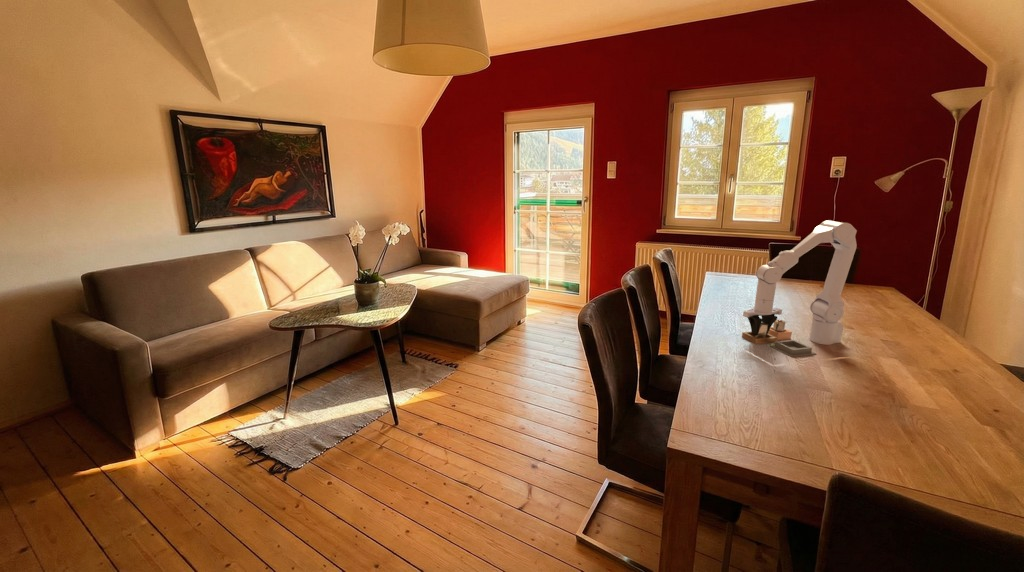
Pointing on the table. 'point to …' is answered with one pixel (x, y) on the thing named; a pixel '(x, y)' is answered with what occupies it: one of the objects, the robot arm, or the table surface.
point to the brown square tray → (755, 340)
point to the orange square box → (780, 334)
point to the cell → (762, 330)
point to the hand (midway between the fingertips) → (759, 334)
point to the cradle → (793, 348)
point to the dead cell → (779, 326)
